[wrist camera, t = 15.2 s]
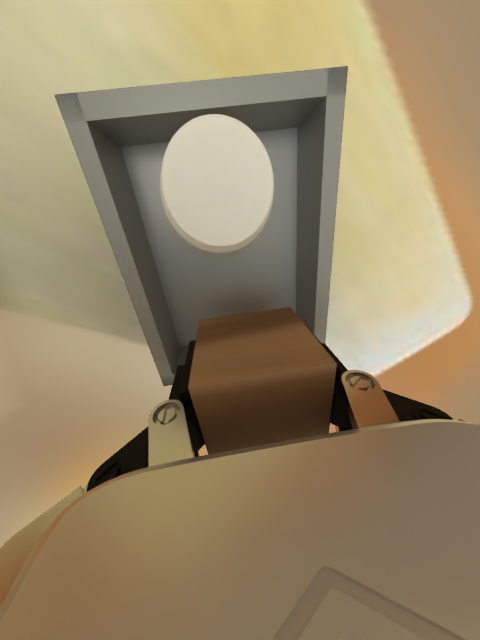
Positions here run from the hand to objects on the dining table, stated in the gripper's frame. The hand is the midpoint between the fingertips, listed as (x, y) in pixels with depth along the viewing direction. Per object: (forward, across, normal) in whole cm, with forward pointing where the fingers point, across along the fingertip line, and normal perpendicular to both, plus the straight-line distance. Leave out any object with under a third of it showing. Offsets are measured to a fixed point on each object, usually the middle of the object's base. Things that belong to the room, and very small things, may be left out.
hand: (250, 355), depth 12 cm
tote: (+9, 0, -4) cm, 10 cm away
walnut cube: (+1, 0, 0) cm, 1 cm away
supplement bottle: (+9, +1, -8) cm, 12 cm away
